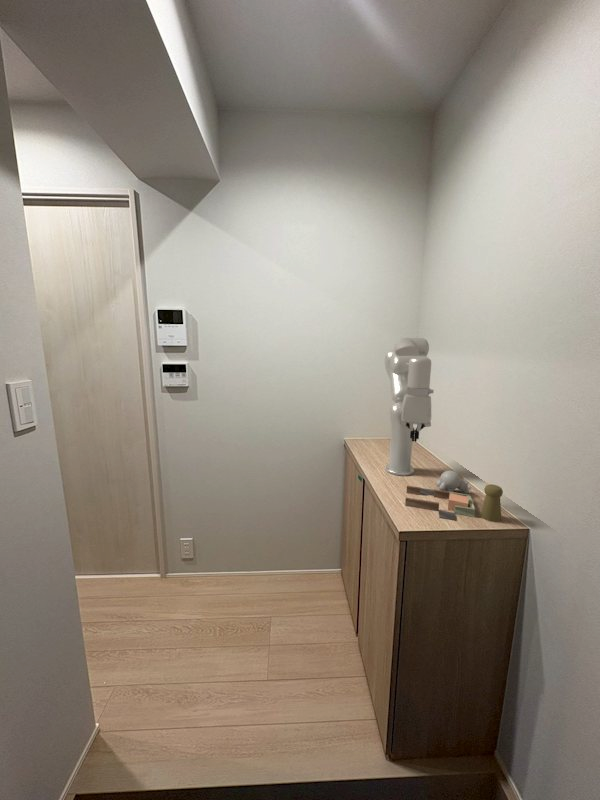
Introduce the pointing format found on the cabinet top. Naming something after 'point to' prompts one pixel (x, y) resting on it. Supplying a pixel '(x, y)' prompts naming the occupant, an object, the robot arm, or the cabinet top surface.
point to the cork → (492, 503)
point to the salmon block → (457, 501)
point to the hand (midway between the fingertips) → (414, 440)
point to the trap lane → (435, 505)
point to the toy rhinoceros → (452, 482)
